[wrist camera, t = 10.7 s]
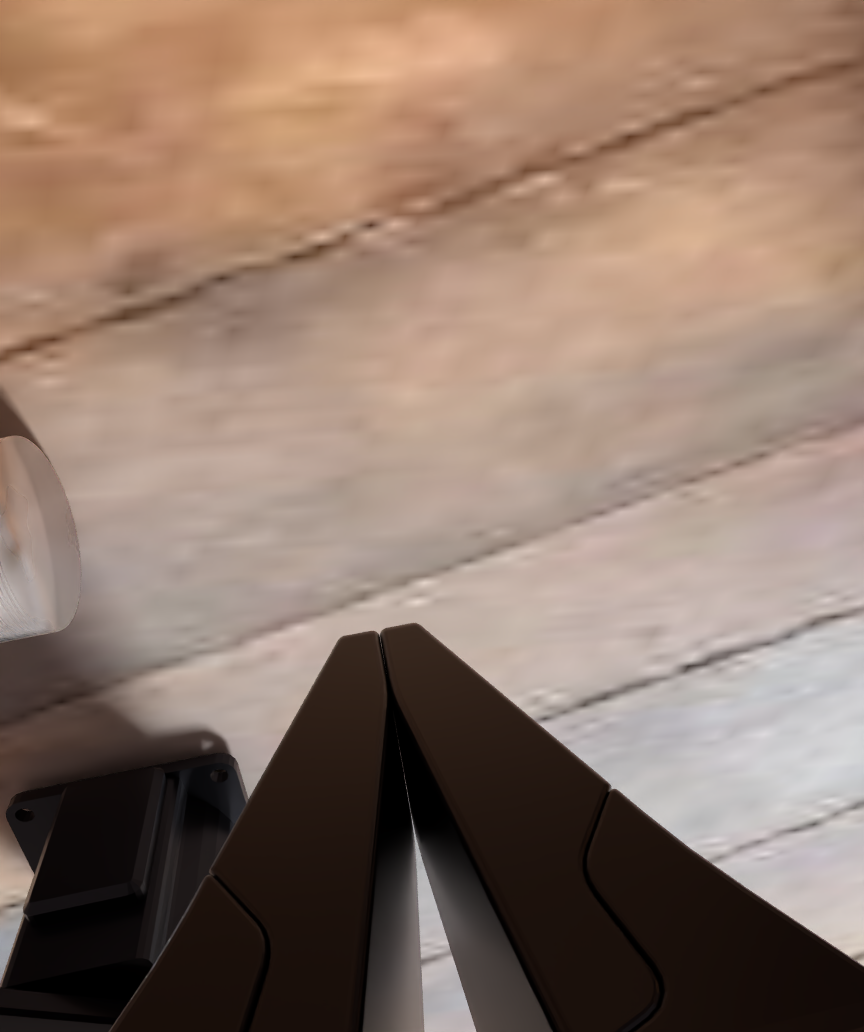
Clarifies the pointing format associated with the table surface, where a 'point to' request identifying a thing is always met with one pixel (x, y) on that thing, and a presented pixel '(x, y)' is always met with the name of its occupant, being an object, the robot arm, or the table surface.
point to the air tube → (35, 545)
